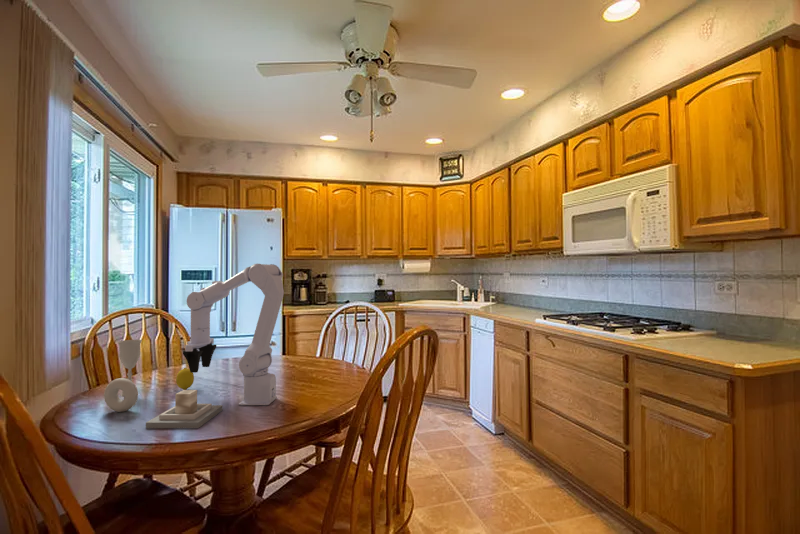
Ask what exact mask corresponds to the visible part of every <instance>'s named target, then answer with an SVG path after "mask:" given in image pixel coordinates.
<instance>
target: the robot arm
mask: <svg viewBox="0 0 800 534" xmlns="http://www.w3.org/2000/svg"><path fill="white" fill-rule="evenodd" d="M283 277H284V273H283V272H282V270H281V269H280V267H279V266H278V265H276V264H274V263H273V264H272V263H271V264H267V263H265V264H264V263H263V264H262V263H254V264H252V265H251V266H247V267H245V268H244V269H242V271H240V272H238V273H237V274H235V275H233V276H231V277H230V278H229V279H227V280H225V281H222V280H214V281H212V282H211V283H212V284H211V285H209V286H207V287H201V288H200V290H199V291H191V293H189V294H188V296H187V297H186V305H187V307H188V308H189V310H190V341H187V342H186V343H187V344H186V345H184V347H185V350H182V356H184V357H185V360H186V362H187V365H188V369H190V372H191V373H193V374H195V373H198V372H199V367H200V361H201V366H202V368H209V367H210V366H211V362H212V358H213V355H214V353H215V350H216V348H217V344H214V343H215V338H214V337H211V312H212V307H213V305H214V304H215V303H217V302H220V301H221V300H223V299H225V298H227V297H228V296H229V295H230V292H231V291H232V290H234V289H236V288H238V287H241V286H243V285H245V284H247V283H249V282H250V283H252V284H254V286H256V287H257V288H258V289H259V290H260V291H261V292H262V293H263V296H264V298H263V302H262V305H261V308H260V312H259V316H258V320H257V323H256V327H255V330H254V332H253V333H254V334H253V338H252V341H251V343H250V344H249V346H248V347H247V348H246V349H245V351H244V354H243V356H242V357H241V358H240V360H239V362H238V368H239V370H240V373H242V376H243V400H241V401H240V402H239V403H238V406H269V405H271V404H272V402H274V401H275V400H276V399H277V397H278V396H277V378H276V377H277V376H276V374H275V373H269V367H271V365H272V361H273V358H272V357H273V356H272V352H273V349H272V347H271V345H270V344H271V340H272V337H273V333H274V330H275V326H276V322H277V319H278V317H279V316H278V315H279V313H280V309H281V305H282V301H283V299H284V293H285V290H284V284H283Z"/></svg>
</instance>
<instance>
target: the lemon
mask: <svg viewBox="0 0 800 534" xmlns="http://www.w3.org/2000/svg"><path fill="white" fill-rule="evenodd" d="M194 381H195V376H194V373H191V372H190V369H189V368H187V367H183V368H182V369H180V370H179V371H178V372H177V374H176V378H175V382H176V385H177V387H178V388H179V389H182V390H189V388H191V387H192V386H193V384H194Z"/></svg>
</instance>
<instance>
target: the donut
mask: <svg viewBox="0 0 800 534" xmlns="http://www.w3.org/2000/svg"><path fill="white" fill-rule="evenodd" d="M119 391H123V392H124V395H125V396H123V397H124V398H123V399H121V398H120V396H119ZM103 396H104V397H103V398H104V403H106V406H107V407H108V408H109V409H110V410H112V411H114V412H118V413H123V412H126V411H127V412H128V411H129V410H131V409H132V408H133V407H134V406H135V405H136V403H137V401H138V398H139V391H138V388H137V386H136V384H135V383H134V382H133V380H132V381H130V380H129V379H128V378H125V377H120V378H115V379H113V380H111V381H110V382H109V383H108V384H107V386H106V387H105V389H104V394H103Z"/></svg>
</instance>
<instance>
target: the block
mask: <svg viewBox="0 0 800 534" xmlns="http://www.w3.org/2000/svg"><path fill="white" fill-rule="evenodd" d="M174 396H175V398H174V399H175V400H174V401H175V403H174V404H175V405H174V406H175V414H193V413H195V412H196V411H197V404H198V389H187V390H183V389H182V390H181V391H179V392H177V393H175V395H174Z"/></svg>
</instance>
